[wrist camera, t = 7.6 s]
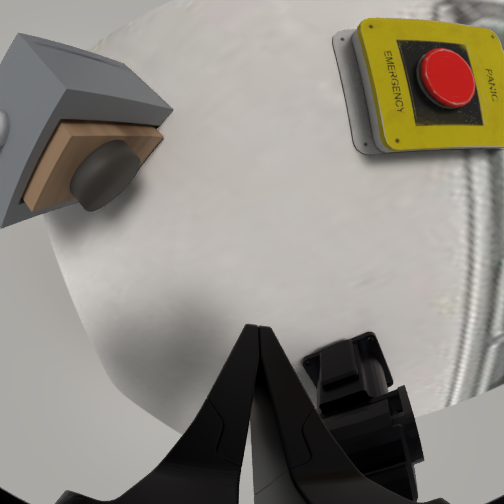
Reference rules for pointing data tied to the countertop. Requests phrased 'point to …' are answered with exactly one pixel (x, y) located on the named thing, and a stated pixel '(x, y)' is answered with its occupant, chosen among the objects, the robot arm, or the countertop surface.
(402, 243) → the countertop surface
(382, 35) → the emergency button
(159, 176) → the countertop surface
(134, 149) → the plunger
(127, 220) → the countertop surface
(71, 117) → the housing
